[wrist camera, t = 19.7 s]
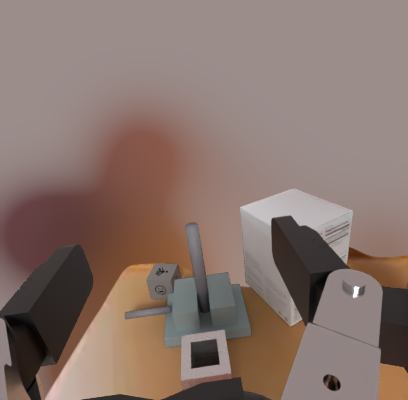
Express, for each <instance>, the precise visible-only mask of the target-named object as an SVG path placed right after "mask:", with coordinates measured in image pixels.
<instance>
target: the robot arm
mask: <svg viewBox="0 0 408 400" xmlns="http://www.w3.org/2000/svg"><path fill="white" fill-rule="evenodd" d="M271 239H272V255H273V259H274V263H275V265H276V267H277V269H278V271H279V273H280V275H281V277H282V279H283V281H284V283H285V285H286V287H287V289H288V291H289V293H290V295H291V297H292V299H293V301H294V304H295V306H296V308H297V310H298V312H299V314H300V316H301V318H302V320H303V322H304V324H305V326H306V329H305V332H304V334H303V337H302V340H301V343H300V346H299V349H298V352H297V354H296V357H295V360H294V363H293V366H292V369H291V372H290V374H289V377H288V380H287V383H286V386H285V389H284V392H283V394H282V397H281V400H378V387H379V372H380V363H383V364H389V365H395V366H400V367H404V368H405V370H406V371H407V373H408V284H407V288H406V289H400V288H390V287H383V286H381V285H380V284H379V283H378V281H377V280H375V279H374V278H373V277H371V276H370V275H368V274H366V273H363V272H361V271H357V270H353V269H350V268H349V267H348V266H347V265H346V264H345V263H344V261H343V260H342V259H341V258H340V257H339V256H338V255H337V254H336V252H335V251H334V250H333V249H332V248H331V247H329V245H328V243H327V242H326V241H325V240H323V238H322V237H321V236H320V234H319V233H318V232H317V231H315V230H314V229H312V228H310V227H308V226H306V225H303V226H299V225H298V224H297V222H296V221H295V220H294V219H293V217H292V216H291V215H289V216H281V217H274V218H272V220H271ZM92 287H93V275H92V272H91V270H90V267H89V264H88V262H87V259H86V256H85V254H84V251H83V249H82V247H81V246H80V245H70V246H63V247H59V248H58V249H57V250H56V251H55V252H54V253H53V255H52V256H51V257H50V258H49V260H48V261H46V262H44V263H43V264H42V265H41V266H39V267H38V268H37V269H35V270H34V271H33V272H32V274H31V275H30V276H29V277H28V279H27V281H25V282H24V283H23V285H22V286H21V287H20V290H18V291H17V292H16V293H15V294H14V296H13V297H12V298H11V299H10V300H9V301H8V303H7V304H6V305H5V306H4V307H3V309H2V310H1V311H0V400H45V397H44V393H43V389H42V385H41V382H40V379H39V377H38V375H37V372H38V371H39V369H40V367H41V366H47V365H53V364H57V362H58V360H59V358H60V356H61V353H62V351H63V349H64V347H65V345H66V342H67V341H68V339H69V336H70V334H71V332H72V330H73V328H74V326H75V324H76V322H77V319H78V317H79V315H80V313H81V311H82V309H83V307H84V304H85V302H86V300H87V298H88V296H89V294H90V292H91V290H92ZM83 400H152V399H146V398H140V397H134V396H128V395H122V394H118V395H111V396H104V397H97V398H90V399H83ZM162 400H271V399H269V398H266V397H264V396H262V395H259V394H255V393H252V392H246V391H243V388H242V382H241V377H239V378H232V379H225V380H217V381H210V382H203V383H200V384H197V385H195V386H193V387H190V388H188V389H186V390H183V391H181V392H179V393H176V394H174V395H172V396H169V397H167V398H165V399H162Z"/></svg>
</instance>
